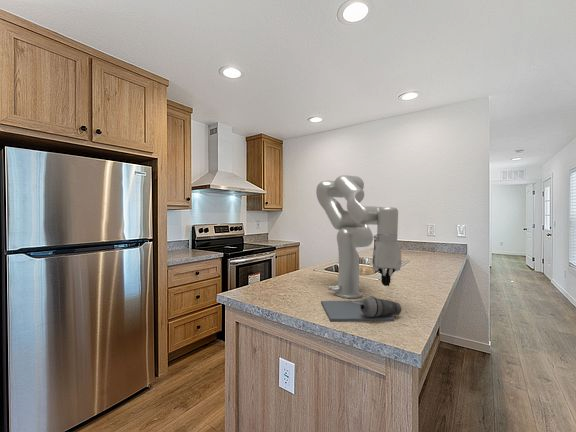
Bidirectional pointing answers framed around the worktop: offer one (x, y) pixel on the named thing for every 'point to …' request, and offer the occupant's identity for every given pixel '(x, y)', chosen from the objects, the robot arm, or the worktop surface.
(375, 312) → the beverage cup
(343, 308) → the rubber mat
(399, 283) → the worktop surface
